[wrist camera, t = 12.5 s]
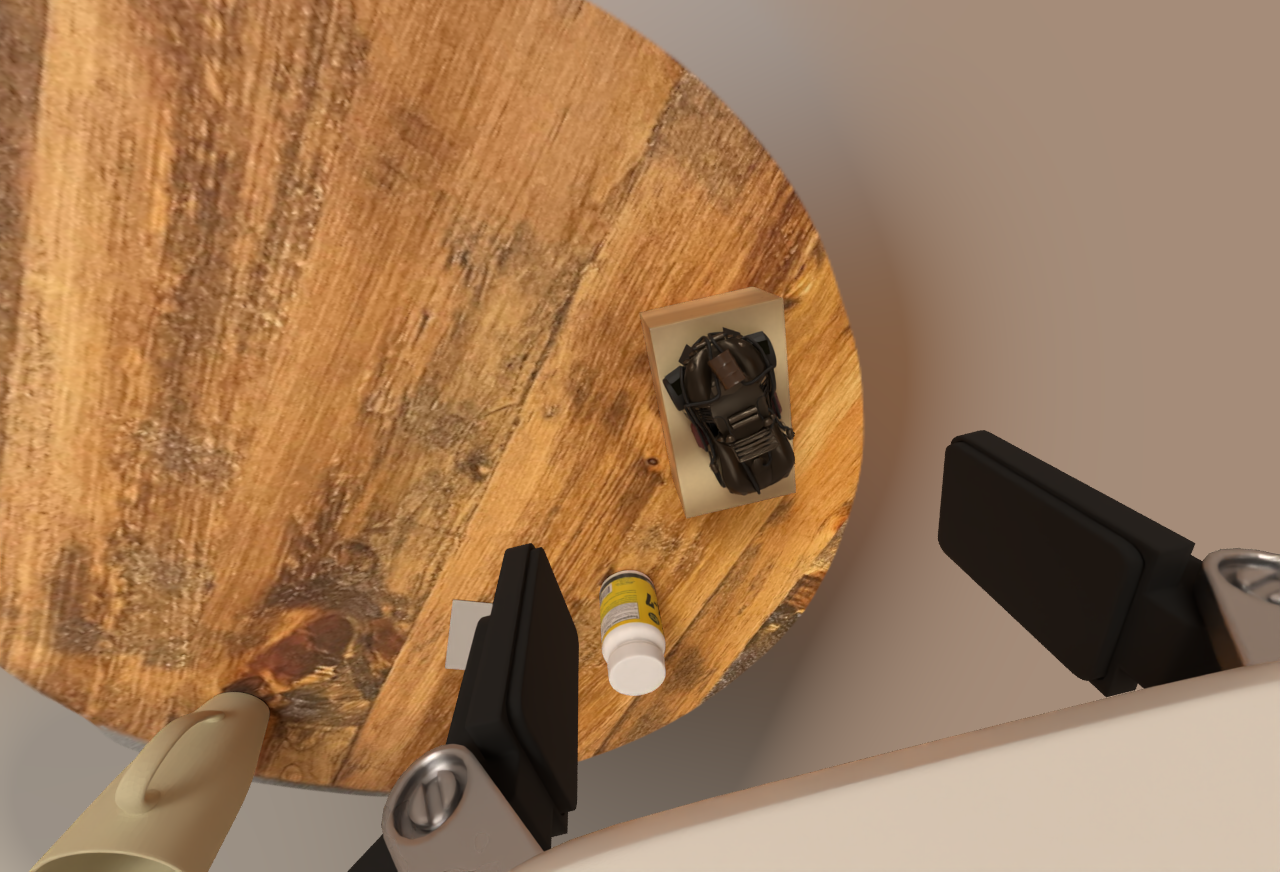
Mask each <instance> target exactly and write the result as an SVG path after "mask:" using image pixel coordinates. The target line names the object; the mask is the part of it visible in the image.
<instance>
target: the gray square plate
mask: <svg viewBox="0 0 1280 872" xmlns="http://www.w3.org/2000/svg"><path fill="white" fill-rule="evenodd" d="M492 606H493V604H491V603H481V602H471V601H461V600H453V605H452V613H451V622H450V630H449V639H448V647H447V656H446V664H445V668H447V669H461V670H465V668H466V664H467V660H468V656H469V652H470V649H471V645H472V641H473V637H474V633H475V629H476V626H477V623H478V621H479V620H480V619H481V618H482V617H485V616H489V615H490V614H491V610H492Z"/></svg>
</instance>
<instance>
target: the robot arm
mask: <svg viewBox="0 0 1280 872" xmlns="http://www.w3.org/2000/svg"><path fill="white" fill-rule="evenodd" d="M938 541H939V544H940V547H941V548H942V550H943V551H944V553H945V554H946V555H947V556H948V557H950V558H951V559H952V560H953V561H954V562H955V563H956V564H957V565H958V566H959V567H960V568H961V569H962V570H963V571H964V572H966V573H967V574H968V575H969V576H970V577H971V578H972V579H973V580H974V581H975V582H976V583H977V584H978V585H979V586H981V587H982V589H984V590H985V591H986V592H987V593H988V594H989V595H990V596H991V597H992V598H993V599H994V600H995V601H996V602H997V603H998V604H1000V605H1001V606H1002V607H1003V608H1004V609H1005V610H1006V611H1007V612H1008V613H1009V614H1010V615H1011V616H1012V617H1013V618H1014V619H1016V620H1017V621H1018V622H1019V623H1020V624H1021V625H1022V626H1023V627H1024V628H1025V629H1026V630H1027V631H1029V633H1031V634H1032V635H1033V636H1034V637H1035V638H1036V639H1037V640H1038V641H1039V642H1040V643H1041V644H1042V645H1043V646H1044V647H1045V648H1047V650H1048V651H1050V652H1051V653H1052V654H1053V655H1054V656H1055V657H1056V658H1057V659H1058V660H1059V661H1060V662H1061V663H1062V664H1063V665H1064V666H1065V667H1067V668H1068V669H1069V670H1070V671H1071V672H1072V673H1073V674H1074V675H1076V676H1077V677H1078V678H1080V679H1082V680H1086V681H1089V682H1090V683H1091V684H1092V685H1094V686H1095V687H1096V688H1097V689H1098V690H1099V691H1100V692H1101V693H1102V694H1103V695H1104V696H1106V697H1109V696H1113V695H1117V694H1121V693H1125V692H1129V691H1133V690H1135V689H1136V687H1137V684H1139V685H1141V686H1142V687H1143V688H1144V689H1141V690H1137V691H1133V692H1129V693H1125V694H1121V695H1118V696H1113V697H1109V698H1105V699H1101V700H1097V701H1093V702H1089V703H1085V704H1081V705H1077V706H1072V707H1068V708H1064V709H1060V710H1057V711H1052V712H1048V713H1044V714H1040V715H1036V716H1032V717H1028V718H1024V719H1020V720H1016V721H1011V722H1007V723H1003V724H999V725H996V726H992V727H988V728H984V729H980V730H976V731H972V732H968V733H964V734H960V735H956V736H952V737H948V738H944V739H940V740H936V741H932V742H928V743H924V744H920V745H916V746H912V747H908V748H905V749H900V750H896V751H892V752H888V753H884V754H881V755H877V756H873V757H869V758H865V759H861V760H857V761H853V762H849V763H845V764H841V765H837V766H833V767H829V768H825V769H822V770H818V771H814V772H810V773H806V774H802V775H798V776H795V777H791V778H787V779H783V780H779V781H775V782H771V783H768V784H764V785H760V786H756V787H752V788H748V789H744V790H740V791H736V792H733V793H729V794H725V795H721V796H717V797H714V798H710V799H706V800H702V801H698V802H695V803H691V804H688V805H684V806H680V807H677V808H673V809H670V810H666V811H662V812H659V813H655V814H652V815H648V816H645V817H641V818H638V819H634V820H630V821H627V822H623V823H619V824H616V825H613V826H610V827H607V828H604V829H601V830H598V831H595V832H592V833H589V834H586V835H584V836H581V837H577V838H575V839H572V840H569V841H567V842H565V843H562V844H560V845H558V846H556V847H553V848H551V837H554V836H558V835H562V834H566V833H567V826H568V812H569V811H573V810H575V809H576V805H577V765H578V665H579V642H578V635H577V631H576V628H575V625H574V623H573V620H572V618H571V615H570V613H569V610H568V608H567V605H566V603H565V600H564V598H563V596H562V593H561V591H560V588H559V586H558V583H557V581H556V578H555V576H554V573H553V571H552V568H551V566H550V563H549V561H548V559H547V556H546V554H545V551H544V549H543V548H542V547H540V548H536V549H535V547H534V545H533V544H532V543H529V544H525V545H521V546H517V547H513V548H509V549H507V550H506V551H505V554H504V558H503V562H502V567H501V571H500V575H499V580H498V584H497V588H496V593H495V597H494V601H493V606H492V610H491V614H490V615H489V616H485V617H482V618H481V619H480V620H479V621H478V623H477V626H476V629H475V633H474V637H473V641H472V645H471V649H470V652H469V656H468V660H467V664H466V668H465V672H464V676H463V680H462V683H461V687H460V691H459V695H458V699H457V703H456V707H455V711H454V714H453V718H452V722H451V726H450V730H449V734H448V738H447V742H446V745H442V746H439V747H437V748H435V749H432V750H430V751H428V752H426V753H425V754H424V755H422V756H421V757H420V758H418V759H417V760H416V761H414V762H413V763H412V764H411V765H410V766H409V767H408V768H407V770H406V771H405V772H404V773H403V774H402V775H401V776H400V778H399V779H398V781H397V782H396V784H395V785H394V787H393V789H392V790H391V792H390V794H389V797H388V799H387V802H386V804H385V807H384V810H383V817H382V824H381V826H382V831H383V834H382V835H381V837H380V838H379V839H378V840H377V841H376V842H375V843H374V844H373V845H372V846H371V847H370V848H369V849H368V850H367V851H366V853H365V854H364V855H363V856H362V857H361V858H360V859H359V860H358V861H357V862H356V863H355V864H354V865H353V866H352V867H351V869H350V870H349V871H348V872H1280V554H1274V553H1269V552H1265V551H1260V550H1252V549H1241V548H1233V549H1220V550H1218V551H1215V552H1212V553H1209V554H1208V555H1207V556H1206V558H1205V559H1204V560H1203V561H1201V560H1199V559H1197V558H1195V557H1194V556H1192V555H1191V553H1192V550H1193V548H1194V545H1195V543H1194V542H1192V541H1190V540H1188V539H1186V538H1185V537H1183V536H1181V535H1179V534H1177V533H1175V532H1173V531H1171V530H1170V529H1168V528H1166V527H1164V526H1162V525H1160V524H1159V523H1157V522H1155V521H1153V520H1151V519H1149V518H1147V517H1146V516H1143V515H1142V514H1140V513H1138V512H1136V511H1134V510H1133V509H1131V508H1129V507H1127V506H1125V505H1123V504H1122V503H1119V502H1118V501H1116V500H1114V499H1112V498H1110V497H1109V496H1107V495H1105V494H1103V493H1101V492H1099V491H1097V490H1095V489H1094V488H1092V487H1090V486H1088V485H1086V484H1084V483H1083V482H1081V481H1079V480H1077V479H1075V478H1073V477H1071V476H1069V475H1068V474H1066V473H1064V472H1062V471H1060V470H1058V469H1057V468H1055V467H1053V466H1051V465H1049V464H1047V463H1045V462H1044V461H1042V460H1040V459H1038V458H1036V457H1034V456H1032V455H1031V454H1029V453H1027V452H1025V451H1023V450H1021V449H1019V448H1018V447H1016V446H1014V445H1012V444H1010V443H1008V442H1007V441H1005V440H1003V439H1001V438H999V437H997V436H995V435H994V434H992V433H990V432H987V431H985V430H983V431H976V432H972V433H968V434H964V435H960V436H957V437H955V438H954V439H953V440H952V442H951V445H949V446H948V447H947V448H946V451H945V461H944V473H943V485H942V496H941V507H940V518H939V529H938Z"/></svg>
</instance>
